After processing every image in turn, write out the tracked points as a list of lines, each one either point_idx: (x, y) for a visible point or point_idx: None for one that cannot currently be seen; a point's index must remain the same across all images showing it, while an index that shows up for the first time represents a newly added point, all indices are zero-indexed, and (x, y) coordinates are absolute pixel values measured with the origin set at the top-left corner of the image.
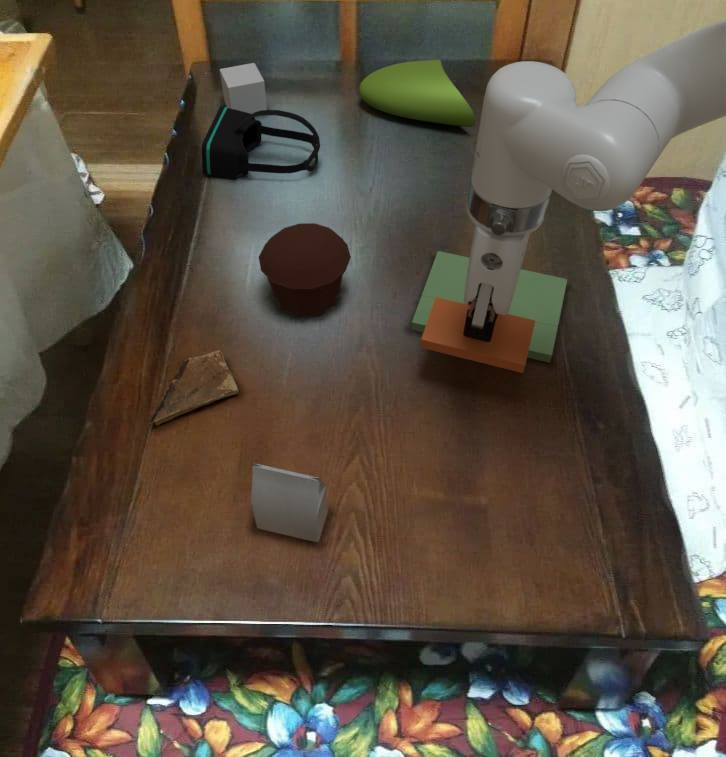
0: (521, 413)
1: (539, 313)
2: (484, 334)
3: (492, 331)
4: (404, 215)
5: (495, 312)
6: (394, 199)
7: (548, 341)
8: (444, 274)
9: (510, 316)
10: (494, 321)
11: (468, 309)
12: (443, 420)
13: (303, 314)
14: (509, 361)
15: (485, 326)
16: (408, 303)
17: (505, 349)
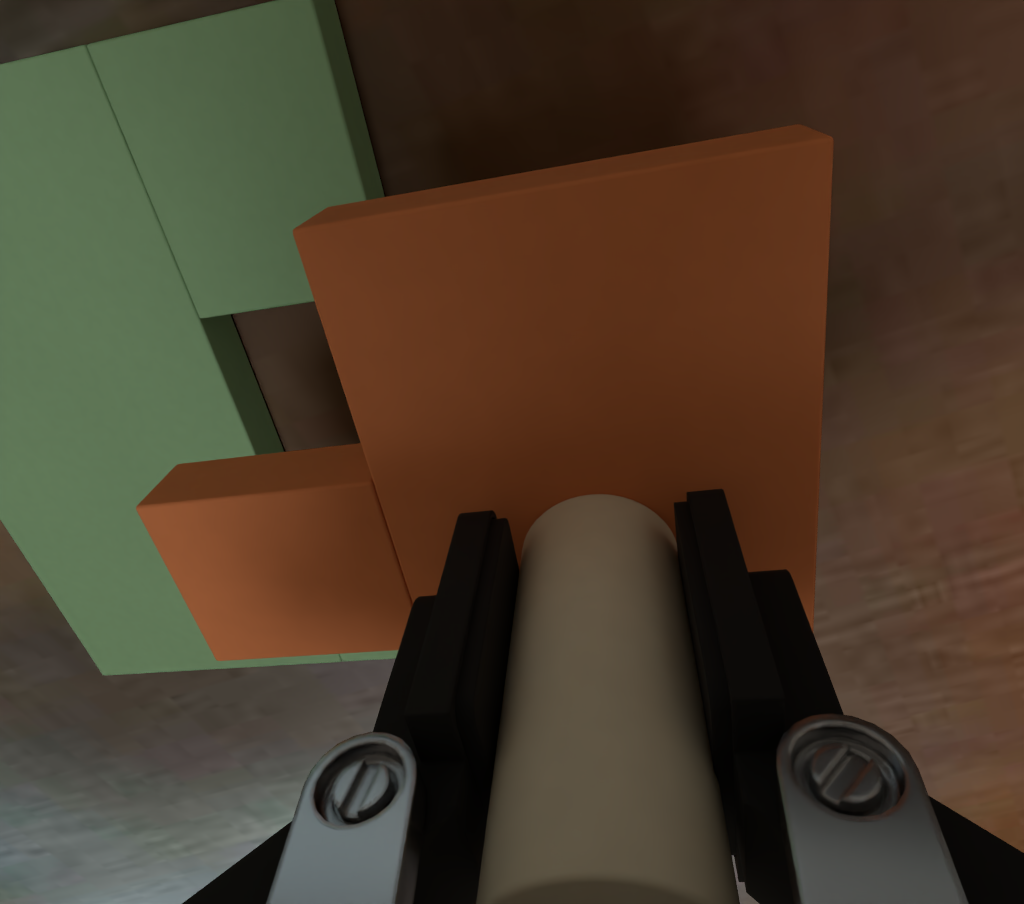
0: (759, 20)
1: (78, 188)
2: (802, 606)
3: (743, 564)
4: (43, 765)
5: (499, 583)
6: (12, 800)
7: (224, 59)
8: (189, 627)
9: (371, 415)
10: (772, 668)
11: (743, 878)
12: (915, 377)
13: None
14: (827, 280)
15: (831, 692)
16: (381, 659)
17: (709, 349)
